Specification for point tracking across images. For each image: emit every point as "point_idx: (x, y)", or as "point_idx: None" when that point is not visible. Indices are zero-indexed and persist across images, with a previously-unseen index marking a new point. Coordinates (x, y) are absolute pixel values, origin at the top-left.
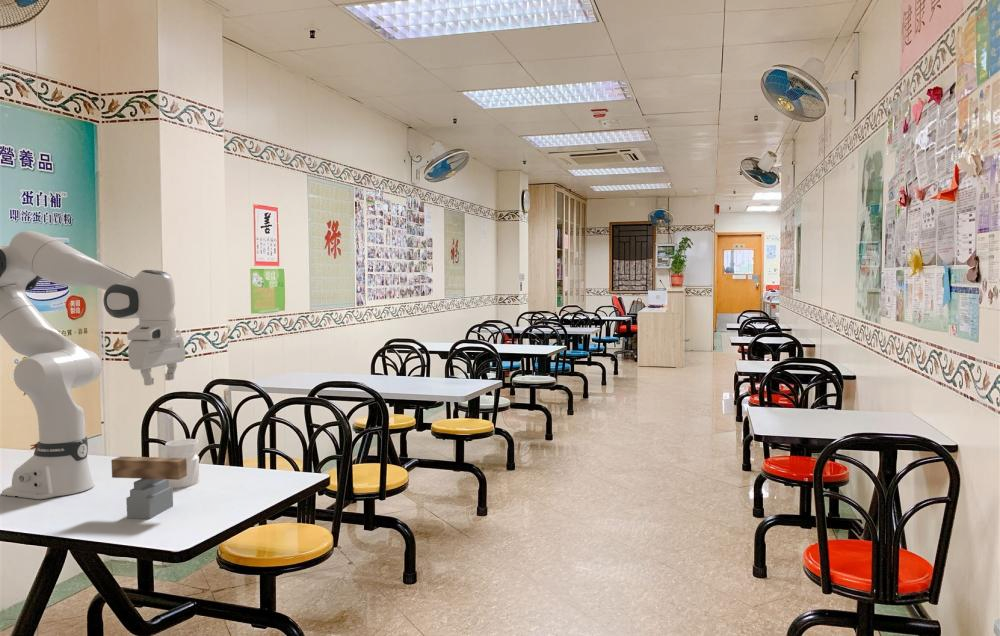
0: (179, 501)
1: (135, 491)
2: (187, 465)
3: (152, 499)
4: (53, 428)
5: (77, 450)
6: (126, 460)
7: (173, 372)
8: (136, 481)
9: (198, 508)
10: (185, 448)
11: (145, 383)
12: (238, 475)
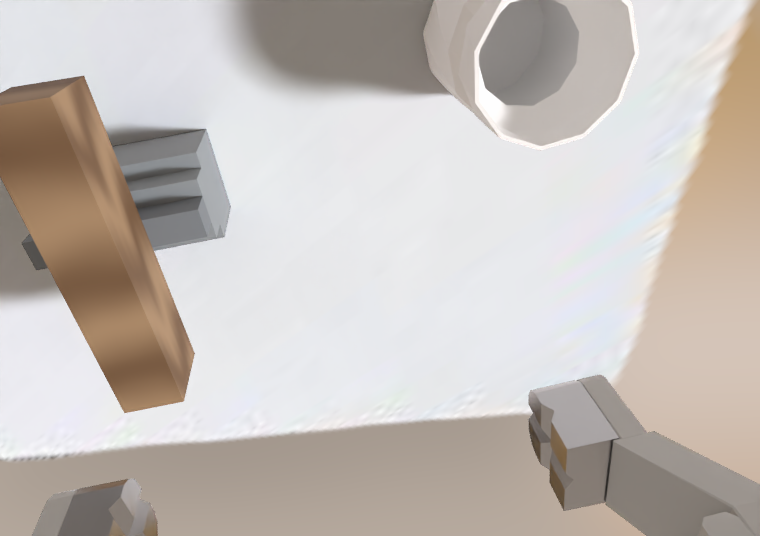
0: (279, 190)
1: None
2: (469, 109)
3: None
4: None
5: None
6: (12, 199)
7: (625, 513)
8: (35, 245)
9: (242, 292)
10: (490, 128)
11: (52, 520)
12: (600, 171)
